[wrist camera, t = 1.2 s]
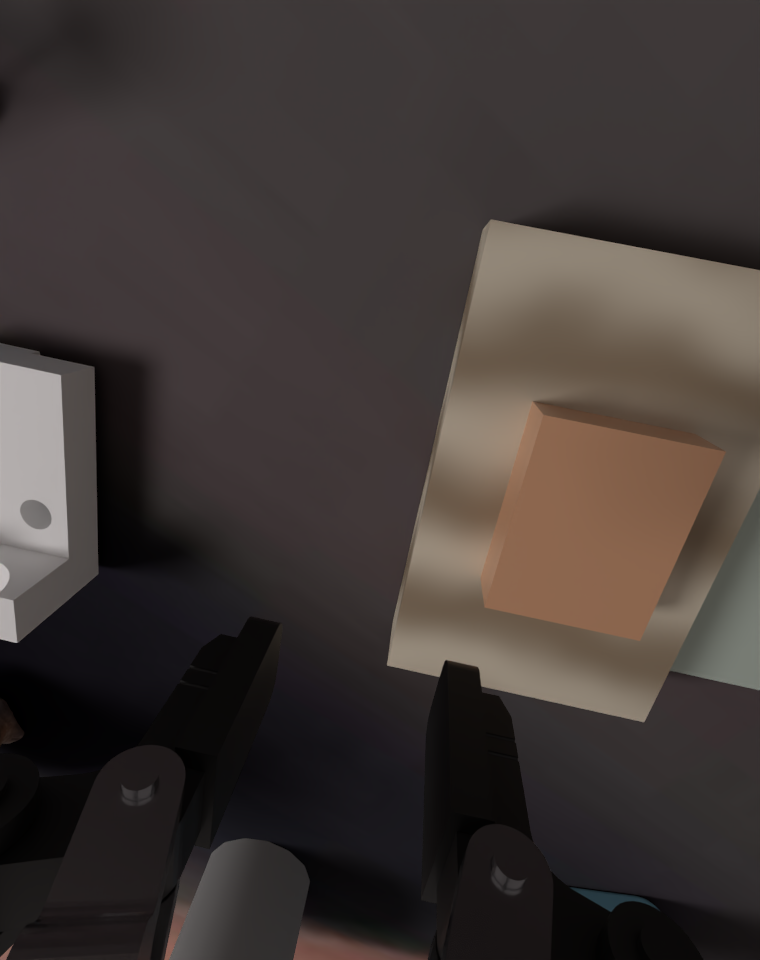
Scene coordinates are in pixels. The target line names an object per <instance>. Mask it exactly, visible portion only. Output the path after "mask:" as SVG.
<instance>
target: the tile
mask: <svg viewBox="0 0 760 960" xmlns="http://www.w3.org/2000/svg"><path fill="white" fill-rule="evenodd" d="M725 453H726V451H724V450H722V449H721V448H719V447H717V446H715V445H714V444H712V443H710V442H709V441H707V440H705V439H703V438H702V437H700V436H698V435H697V434H694V433H689V432H684V431H679V430H674V429H669V428H664V427H659V426H654V425H649V424H644V423H639V422H634V421H629V420H624V419H619V418H614V417H609V416H604V415H599V414H594V413H589V412H584V411H579V410H574V409H569V408H564V407H559V406H554V405H549V404H544V403H539V402H534V401H532V405H531V408H530V411H529V415H528V418H527V422H526V425H525V428H524V432H523V435H522V439H521V442H520V445H519V449H518V452H517V456H516V459H515V462H514V466H513V469H512V472H511V476H510V479H509V483H508V486H507V489H506V493H505V496H504V500H503V503H502V506H501V510H500V513H499V517H498V520H497V523H496V527H495V530H494V533H493V537H492V540H491V544H490V547H489V550H488V554H487V557H486V561H485V564H484V567H483V571H482V574H481V578H480V579H481V586H482V593H483V600H484V607H485V608H489V609H494V610H499V611H503V612H508V613H512V614H517V615H522V616H526V617H531V618H536V619H540V620H545V621H550V622H554V623H559V624H563V625H568V626H573V627H577V628H582V629H587V630H591V631H596V632H601V633H605V634H610V635H614V636H619V637H624V638H628V639H633V640H638V641H640V640H641V638H642V636H643V633H644V631H645V629H646V627H647V625H648V622H649V620H650V618H651V616H652V614H653V611H654V609H655V607H656V605H657V603H658V600H659V598H660V596H661V594H662V592H663V589H664V587H665V585H666V583H667V581H668V578H669V576H670V574H671V572H672V570H673V567H674V565H675V563H676V561H677V559H678V556H679V554H680V552H681V550H682V548H683V545H684V543H685V541H686V539H687V537H688V534H689V532H690V530H691V528H692V526H693V523H694V521H695V519H696V517H697V515H698V512H699V510H700V508H701V506H702V504H703V502H704V499H705V497H706V495H707V493H708V491H709V488H710V486H711V484H712V482H713V480H714V477H715V475H716V473H717V471H718V469H719V466H720V464H721V462H722V460H723V458H724V455H725Z"/></svg>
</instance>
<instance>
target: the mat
mask: <svg viewBox="0 0 760 960" xmlns="http://www.w3.org/2000/svg"><path fill="white" fill-rule="evenodd" d="M670 671H674V672H679V673H683V674H688V675H692V676H697V677H702V678H706V679H711V680H715V681H720V682H725V683H729V684H734V685H738V686H743V687H748V688H752V689H757V690H760V489H759V491H758V493H757V495H756V497H755V499H754V501H753V503H752V505H751V507H750V509H749V511H748V513H747V515H746V517H745V519H744V521H743V523H742V525H741V527H740V529H739V531H738V534H737V536H736V538H735V540H734V542H733V544H732V546H731V548H730V550H729V552H728V554H727V556H726V558H725V560H724V562H723V564H722V566H721V568H720V570H719V572H718V574H717V576H716V578H715V580H714V582H713V584H712V586H711V588H710V590H709V592H708V594H707V596H706V598H705V600H704V602H703V604H702V606H701V608H700V610H699V612H698V614H697V616H696V618H695V620H694V622H693V624H692V626H691V629H690V631H689V633H688V635H687V637H686V639H685V641H684V643H683V645H682V647H681V649H680V651H679V653H678V655H677V657H676V659H675V661H674V663H673V665H672V667H671V669H670Z"/></svg>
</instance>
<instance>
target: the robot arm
mask: <svg viewBox="0 0 760 960" xmlns="http://www.w3.org/2000/svg"><path fill="white" fill-rule="evenodd" d="M281 636H282V623H278V622H274V621H269V620H265V619H260V618H256V617H249V619H248V620H247V622H246V623H245V625H244V627H243V629H242V630H241V632H240V634H239V636H238V637H237V638H236V637H231V636H227V635H222V634H221V635H219V636H218V637H216V638H215V639H213V640H212V641H211V642H209V643H208V644H206V645H205V646H203V647H202V648H201V650H200V651H199V653H198V654H197V656H196V657H195V659H194V660H193V662H192V663H191V665H190V668H189V669H188V670H187V671H186V673H185V674H184V676H183V677H182V679H181V681H180V684H178V685H177V686H176V688H175V690H174V691H173V693H172V694H171V696H170V697H169V699H168V700H167V702H166V703H165V705H164V706H163V708H162V709H161V711H160V712H159V714H158V716H157V717H156V719H155V720H154V722H153V723H152V725H151V726H150V728H149V729H148V731H147V732H146V734H145V735H144V737H143V738H142V740H141V741H140V743H139V744H138V745H137V747H135V748H131V749H129V750H126V751H124V752H122V753H120V754H119V755H117V756H115V757H114V758H113V759H112V760H110V761H109V762H108V763H107V764H106V765H105V766H104V767H103V768H102V770H99V771H95V772H91V773H85V774H77V775H64V776H52V777H40V778H39V772H38V768H37V767H36V765H35V764H34V762H33V761H32V760H30V759H28V758H27V757H25V756H22V755H18V754H0V957H1V956H2V955H3V954H4V953H5V952H6V951H7V950H8V949H9V948H10V947H11V946H12V945H13V946H12V948H11V950H10V953H9V955H8V957H7V959H6V960H164V958H165V953H166V948H167V943H168V938H169V933H170V928H171V923H172V918H173V913H174V908H175V903H176V898H177V894H178V889H179V882H180V877H181V874H182V872H183V870H184V868H185V865H186V863H187V861H188V858H189V856H190V854H191V852H192V849H193V847H194V845H195V846H199V847H203V848H207V849H210V847H211V844H212V842H213V839H214V837H215V834H216V832H217V829H218V827H219V825H220V822H221V820H222V817H223V815H224V812H225V810H226V807H227V805H228V802H229V800H230V797H231V795H232V793H233V790H234V788H235V785H236V783H237V780H238V778H239V775H240V773H241V770H242V768H243V766H244V763H245V761H246V758H247V756H248V753H249V751H250V748H251V746H252V743H253V741H254V738H255V736H256V734H257V731H258V729H259V726H260V724H261V721H262V719H263V716H264V714H265V711H266V709H267V707H268V704H269V701H270V698H271V695H272V692H273V688H274V684H275V679H276V673H277V666H278V658H279V651H280V643H281ZM421 900H423V901H427V902H431V903H436V904H437V930H436V933H435V935H434V938H433V941H432V944H431V948H430V952H429V957H428V960H703V958H702V957H701V955H700V953H699V952H698V950H697V949H696V947H695V946H694V944H693V943H692V942H691V940H690V939H689V937H688V936H687V935H686V934H685V933H684V931H683V930H682V929H681V928H680V927H679V926H678V925H677V924H676V923H675V922H674V921H673V920H672V919H670V918H669V917H668V916H667V915H665V914H664V913H662V912H661V911H659V910H658V909H656V908H654V907H652V906H650V905H648V904H645V903H642V902H637V901H626V902H623V903H620V904H619V905H617V906H616V907H615V908H614V909H613V910H612V912H610V911H609V910H607V909H605V908H603V907H602V906H600V905H598V904H597V903H595V902H593V901H591V900H590V899H588V898H586V897H585V896H583V895H581V894H580V893H578V892H576V891H574V890H573V889H571V888H570V887H568V886H567V885H566V884H564V883H563V882H562V881H561V880H559V879H558V878H557V877H556V876H555V875H554V874H553V873H552V872H551V870H550V868H549V865H548V863H547V861H546V859H545V857H544V855H543V854H542V852H541V851H540V849H539V848H538V847H537V846H536V845H535V844H534V842H533V840H532V836H531V832H530V826H529V820H528V814H527V808H526V802H525V796H524V790H523V784H522V778H521V772H520V766H519V762H518V754H517V748H516V743H515V736H514V730H513V724H512V718H511V716H510V714H509V712H508V711H507V709H506V707H505V706H504V704H503V702H502V701H501V699H500V697H499V696H496V695H491V694H487V693H482V690H481V680H480V671H479V668H478V667H477V666H472V665H467V664H463V663H458V662H454V661H449V660H445V662H444V664H443V667H442V671H441V674H440V678H439V681H438V685H437V689H436V692H435V696H434V699H433V703H432V706H431V710H430V714H429V719H428V725H427V732H426V751H425V785H424V819H423V853H422V887H421Z"/></svg>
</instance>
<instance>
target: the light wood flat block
mask: <svg viewBox="0 0 760 960" xmlns="http://www.w3.org/2000/svg"><path fill="white" fill-rule="evenodd" d="M532 401H534V402H539V403H544V404H549V405H554V406H559V407H564V408H569V409H574V410H579V411H584V412H589V413H594V414H599V415H604V416H609V417H614V418H619V419H624V420H629V421H634V422H639V423H644V424H649V425H654V426H659V427H664V428H669V429H674V430H679V431H684V432H689V433H694V434H697V435H698V436H700V437H702V438H703V439H705V440H707V441H709V442H710V443H712V444H714V445H715V446H717V447H719V448H721V449H722V450H724V451H726V453H725V455H724V458H723V460H722V462H721V464H720V466H719V469H718V471H717V473H716V475H715V477H714V480H713V482H712V484H711V486H710V488H709V491H708V493H707V495H706V497H705V499H704V502H703V504H702V506H701V508H700V510H699V512H698V515H697V517H696V519H695V521H694V523H693V526H692V528H691V530H690V532H689V534H688V537H687V539H686V541H685V543H684V545H683V548H682V550H681V552H680V554H679V556H678V559H677V561H676V563H675V565H674V567H673V570H672V572H671V574H670V576H669V578H668V581H667V583H666V585H665V587H664V589H663V592H662V594H661V596H660V598H659V600H658V603H657V605H656V607H655V609H654V611H653V614H652V616H651V618H650V620H649V622H648V625H647V627H646V629H645V631H644V633H643V636H642V638H641V640H640V641H638V640H633V639H628V638H624V637H619V636H614V635H610V634H605V633H601V632H596V631H591V630H587V629H582V628H577V627H573V626H568V625H563V624H559V623H554V622H550V621H545V620H540V619H536V618H531V617H526V616H522V615H517V614H512V613H508V612H503V611H499V610H494V609H489V608H485V607H484V600H483V593H482V586H481V579H480V578H481V574H482V571H483V567H484V564H485V561H486V557H487V554H488V550H489V547H490V544H491V540H492V537H493V533H494V530H495V527H496V523H497V520H498V517H499V513H500V510H501V506H502V503H503V500H504V496H505V493H506V489H507V486H508V483H509V479H510V476H511V472H512V469H513V466H514V462H515V459H516V456H517V452H518V449H519V445H520V442H521V439H522V435H523V432H524V428H525V425H526V422H527V418H528V415H529V411H530V408H531V405H532ZM759 489H760V270H756V269H750V268H745V267H740V266H734V265H729V264H724V263H719V262H713V261H708V260H703V259H697V258H692V257H687V256H681V255H676V254H671V253H666V252H660V251H655V250H650V249H644V248H639V247H634V246H628V245H623V244H618V243H613V242H607V241H602V240H597V239H591V238H586V237H581V236H575V235H570V234H565V233H560V232H554V231H549V230H544V229H538V228H533V227H528V226H522V225H517V224H512V223H507V222H501V221H496V220H490V221H489V223H488V224H487V225H486V226H485V228H484V229H483V231H482V235H481V240H480V244H479V248H478V253H477V257H476V262H475V266H474V270H473V275H472V279H471V283H470V288H469V292H468V296H467V301H466V305H465V310H464V314H463V318H462V323H461V327H460V331H459V336H458V340H457V344H456V349H455V353H454V357H453V362H452V366H451V371H450V375H449V379H448V384H447V388H446V392H445V397H444V401H443V405H442V410H441V414H440V418H439V423H438V427H437V432H436V436H435V440H434V445H433V449H432V453H431V458H430V462H429V466H428V471H427V475H426V480H425V484H424V488H423V493H422V497H421V501H420V506H419V510H418V514H417V519H416V523H415V527H414V532H413V536H412V541H411V545H410V549H409V554H408V558H407V562H406V567H405V571H404V575H403V580H402V584H401V588H400V593H399V597H398V602H397V606H396V610H395V615H394V619H393V625H392V633H391V640H390V647H389V654H388V662H387V665H388V666H392V667H397V668H401V669H406V670H410V671H415V672H419V673H424V674H429V675H433V676H438V677H440V674H441V671H442V667H443V664H444V662H445V660H449V661H454V662H458V663H463V664H467V665H472V666H477V667H478V668H479V671H480V680H481V686H483V687H487V688H492V689H496V690H501V691H505V692H510V693H514V694H519V695H523V696H528V697H533V698H537V699H542V700H546V701H551V702H555V703H560V704H564V705H569V706H573V707H578V708H582V709H587V710H591V711H596V712H600V713H605V714H609V715H614V716H618V717H623V718H627V719H632V720H637V721H641V722H645V719H646V717H647V715H648V713H649V711H650V709H651V707H652V705H653V703H654V701H655V699H656V697H657V695H658V693H659V691H660V689H661V687H662V685H663V683H664V681H665V679H666V677H667V675H668V673H669V671H670V669H671V667H672V665H673V663H674V661H675V659H676V657H677V655H678V653H679V651H680V649H681V647H682V645H683V643H684V641H685V639H686V637H687V635H688V633H689V631H690V629H691V626H692V624H693V622H694V620H695V618H696V616H697V614H698V612H699V610H700V608H701V606H702V604H703V602H704V600H705V598H706V596H707V594H708V592H709V590H710V588H711V586H712V584H713V582H714V580H715V578H716V576H717V574H718V572H719V570H720V568H721V566H722V564H723V562H724V560H725V558H726V556H727V554H728V552H729V550H730V548H731V546H732V544H733V542H734V540H735V538H736V536H737V534H738V531H739V529H740V527H741V525H742V523H743V521H744V519H745V517H746V515H747V513H748V511H749V509H750V507H751V505H752V503H753V501H754V499H755V497H756V495H757V493H758V491H759Z"/></svg>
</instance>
